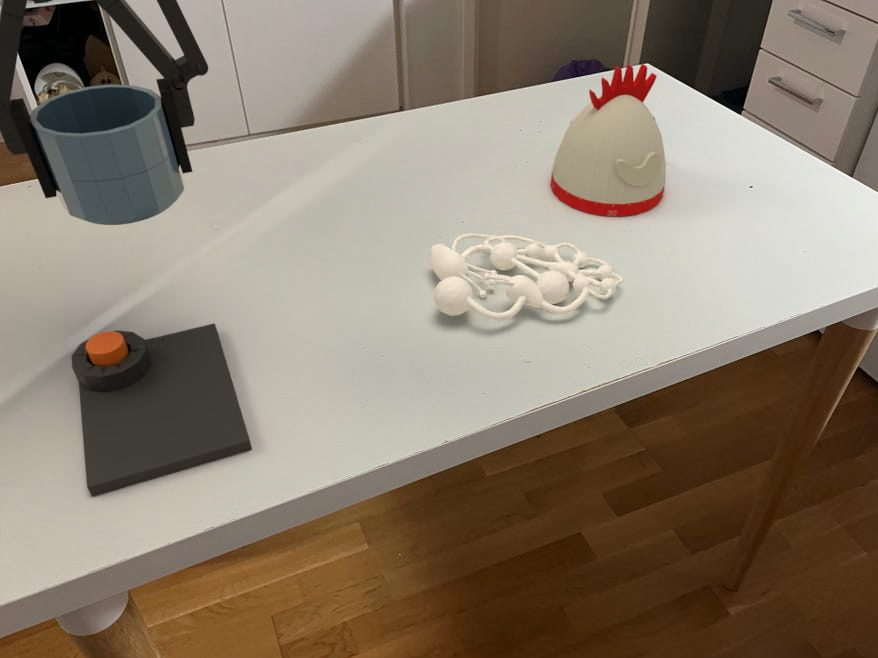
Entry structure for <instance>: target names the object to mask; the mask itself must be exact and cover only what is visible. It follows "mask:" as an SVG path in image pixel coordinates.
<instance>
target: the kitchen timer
mask: <svg viewBox="0 0 878 658" xmlns="http://www.w3.org/2000/svg"><path fill="white" fill-rule="evenodd" d="M647 75H648V66H647V65H645V64H644V63H641V64H640V67H639V69H638V72H637V73H636V76H635V77H634V67H633V66H632V65H631V64H629V63H627V65H626V68H625V72H624V75H623V71H622V68H621V67H619V66H618V65H616V66H615V68H614V70H613V75H612V78H611V82H610V83H609V81H608V80H607V79H606V78H605V77H601V79H600V80H601V81H600V82H601V83H600V84H601V95H600V96H597V95H596V93H595V92H594V91H593V90H591V89H589V90H588V93H589V98H590V101H591V102H589V103H588V104H586V106H584V107H583V109H581V111H579V113H578V114H577V115H576V116H575V117H574V118H573V119H571V120H570V122H569V126H567V127H568V128H567V129H566V131H565V133H564V135H563V138H562V139H561V142H560V144H559V146H558V149H557V151H556V154H555V157H554V161H553V165H552V169H551V177H550V187H551V190H552V193H553V194H554V195H555V196H556V198H557V199H559V200H560V202H561V203H563V204H565V205H567V206H569V207H570V208H572V209H575V210H577V211H581V212H583V213H586V214H589V215H590V214H591V215H596V216H600V217H601V216H602V217H618V218H619V217H628V216H636V215H639V214H643V213H646V212H649V211H650V210H652V209H654V208H655V207H657V206H658V205H659V204H660V202H661V200H662V199H663V197H664V192H665V188H666V181H667V179H666V178H667V177H666V175H667V174H666V167H667V166H666V165H667V164H666V155H665V147H664V141H663V137H662V134H661V130H660V128H659V125H658V123H657V121H656V118H655V116H654V115H653V114H652V112H651V111H650V110H649V108H648V107H647V105H646V104H644V102H645V100H646V98H647V96H648V94H649V93H650V91H651V90H652V88H653V86H654V84H655V83H656V82H655V81H656V80H657V74H655V73H654V72H651V73H650V74H649V75H648V77H647Z"/></svg>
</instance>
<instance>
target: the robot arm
mask: <svg viewBox="0 0 878 658" xmlns="http://www.w3.org/2000/svg"><path fill="white" fill-rule="evenodd" d="M29 1H31V2H33V3H34V5H37V4H45V3H49V2H52V1H53V0H29ZM94 1H95V2H96V3H97V4H98V6H99V7H100V8H101V9H102V10H104V11H105V12H106V14H108V16H109V17H110V18H111V19H112V20H113V21H114V23H115V24H116V25H117V26H118V27H119V28H120V29H121V30H122V32H123V33H124V34H125V35H126V36H127V37H128V39H130V41H131V42H132V43H133V44H134V46H135V47H136V48H137V49H138V50H139V51H140V52H141V53H142V55H143V56H144V57H145V58H146V60H148V62H150V63H151V65H152V66H153V67H154V69H156V71H157V72H158V73H159V74H160V76H162V78H156V79H155V80H156V84H157V88H158V91H159V96H160V97H161V98H162V101H163V105H164V108H165V112H166V116H167V119H168V123H169V127H170V131H171V134H172V138H173V142H174V145H175V149H176V153H177V156H178V160H179V164H180V167H181V171H182V174H188V173H193V171H194V170H193V168H192V164H191V160H190V156H189V152H188V149H187V145H186V141H185V138H184V133H183V129H182V128H190V127H194V126H195V115H194V114H195V113H194V110H193V107H192V102H191V99H190V98H191V97H190V95H189V89H188V84H189V82H190V81H191V80H193V79H194V78H196V77H197V76H200V77H202V76H205V75H207V74H208V72H209V65H208V63H207V60H206V58H205V56H204V54H203V52H202V50H201V48H200V46H199V44H198V42H197V40H196V37H195V36H194V34H193V32H192V30H191V28H190V25H189V23H188V21H187V19H186V17H185V15H184V13H183V10H182V8H181V7H180V5H179V3H178V0H156V3H157V4H158V6H159V8H160V10H161V12H162V14H163V16H164V18H165V20H166V21H167V24H168V26H169V28H170V30H171V32H172V34H173V36H174V37H175V40H176V42H177V44H178V45H179V48H180V50H181V51H182V54H183V55H182V56H180V57H178V58H176V59H175V58H174V57H173V55H171V53H170V52H169V51H168V49H166V47H165V46H164V45H163V44H162V42H161V41H160V40H159V39H158V38H157V36H156V35H155V34H154V33H153V32H152V31H151V29H150V28H149V27H148V26H147V24H145V22H144V21H143V19H141V17H139V15H138V14H137V13H136V12H135V10H134V9H133V8H132V7H131V5H130V4H129V3H128V1H126V0H94ZM27 4H28V0H1V7H0V134H1V136H2V139H3V141H4V144H5V146H6V148H7V150H8V151H9V152H10V153H11V154H12V156H18V155H23V154H27V157H28V158H29V161H30V163H31V167H32V168H33V171H34V173H35V176H36V178H37V181H38V183H39V185H40V188H41V190H42V192H43V195H44V197H45V199H50V198H56V197H58V193H57V191H56V188H55V186H54V183H53V181H52V178H51V176H50V173H49V171H48V168H47V165H46V163H45V161H44V158H43V156H42V153H41V151H40V148H39V146H38V143H37V141H36V138H35V136H34V133H33V131H32V128H31V126H30V123H29V119H30V115H31V114H30V112H29V110H28V107H27V104H26V103H25V100H24V98H22V97H20V98H13V99H11V97H12V90H13V85H14V84H13V83H14V79H15V71H16V68H17V67H16V66H17V61H18V53H19V48H20V43H21V36H22V30H23V24H24V19H25V16H26V9H27Z"/></svg>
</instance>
